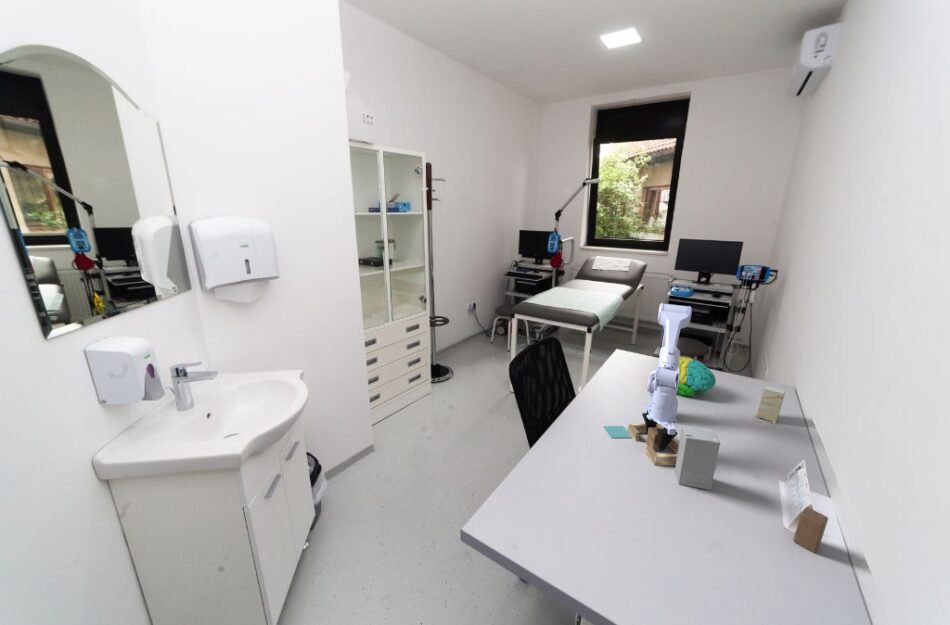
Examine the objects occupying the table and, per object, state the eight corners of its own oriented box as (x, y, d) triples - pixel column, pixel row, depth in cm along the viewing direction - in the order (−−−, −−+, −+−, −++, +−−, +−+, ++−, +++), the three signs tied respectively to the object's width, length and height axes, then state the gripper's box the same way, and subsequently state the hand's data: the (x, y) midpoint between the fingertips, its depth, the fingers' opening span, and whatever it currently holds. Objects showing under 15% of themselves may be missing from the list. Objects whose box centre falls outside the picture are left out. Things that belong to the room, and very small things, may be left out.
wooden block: (792, 541, 85) (800, 513, 83) (797, 533, 87) (806, 505, 85) (814, 554, 82) (824, 525, 80) (819, 545, 84) (829, 516, 82)
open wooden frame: (658, 431, 128) (659, 423, 128) (689, 464, 111) (691, 456, 110) (627, 431, 128) (628, 423, 127) (654, 465, 110) (656, 456, 110)
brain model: (720, 393, 157) (724, 360, 154) (702, 406, 146) (706, 371, 143) (664, 377, 175) (667, 347, 172) (644, 387, 164) (647, 355, 161)
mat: (622, 426, 131) (622, 425, 131) (631, 438, 124) (631, 437, 124) (603, 426, 130) (603, 426, 130) (611, 438, 124) (611, 437, 124)
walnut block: (657, 443, 121) (660, 427, 120) (664, 450, 118) (667, 434, 116) (646, 443, 121) (648, 427, 120) (652, 450, 117) (655, 434, 116)
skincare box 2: (755, 417, 139) (763, 388, 136) (757, 413, 142) (764, 384, 139) (776, 424, 135) (784, 394, 132) (778, 419, 138) (785, 390, 135)
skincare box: (705, 476, 106) (715, 428, 102) (711, 493, 99) (722, 442, 96) (672, 469, 109) (681, 422, 105) (677, 485, 102) (686, 435, 98)
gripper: (638, 393, 122) (633, 429, 126) (662, 415, 108) (655, 455, 112) (659, 393, 123) (653, 429, 126) (685, 415, 109) (678, 455, 112)
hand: (655, 441), depth 119 cm, fingers open, 7 cm apart
